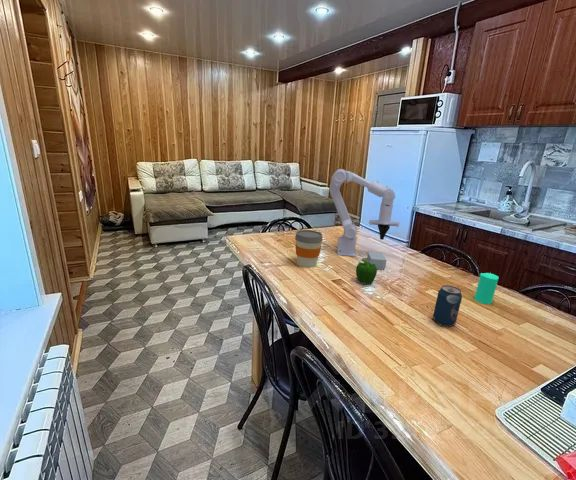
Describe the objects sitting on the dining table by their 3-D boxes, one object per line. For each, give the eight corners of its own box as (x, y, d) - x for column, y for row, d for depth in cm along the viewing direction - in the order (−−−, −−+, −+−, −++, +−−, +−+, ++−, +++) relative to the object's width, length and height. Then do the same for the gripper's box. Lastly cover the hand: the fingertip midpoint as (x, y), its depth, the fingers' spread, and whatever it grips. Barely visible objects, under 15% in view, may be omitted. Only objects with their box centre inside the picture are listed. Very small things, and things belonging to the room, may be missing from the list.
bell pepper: (378, 282, 132) (382, 260, 129) (369, 288, 126) (372, 265, 123) (361, 276, 137) (364, 254, 134) (351, 281, 131) (354, 259, 128)
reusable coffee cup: (289, 265, 144) (291, 234, 139) (298, 257, 155) (300, 228, 150) (315, 271, 139) (318, 239, 135) (323, 262, 151) (326, 232, 146)
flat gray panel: (366, 268, 145) (366, 268, 145) (362, 258, 159) (362, 257, 159) (384, 270, 145) (384, 269, 145) (378, 259, 158) (378, 259, 158)
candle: (489, 298, 123) (497, 270, 119) (493, 305, 117) (502, 276, 114) (472, 295, 124) (479, 267, 121) (475, 302, 119) (483, 273, 115)
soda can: (454, 330, 100) (462, 296, 96) (430, 322, 103) (438, 289, 99) (456, 320, 105) (464, 288, 102) (434, 313, 109) (440, 282, 105)
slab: (385, 268, 147) (370, 266, 147) (381, 260, 156) (366, 259, 157) (386, 260, 145) (371, 258, 146) (382, 253, 155) (367, 251, 155)
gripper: (372, 213, 152) (368, 240, 156) (402, 215, 151) (398, 242, 155) (369, 210, 158) (366, 236, 162) (398, 212, 157) (394, 238, 161)
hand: (381, 239), depth 159 cm, fingers closed
